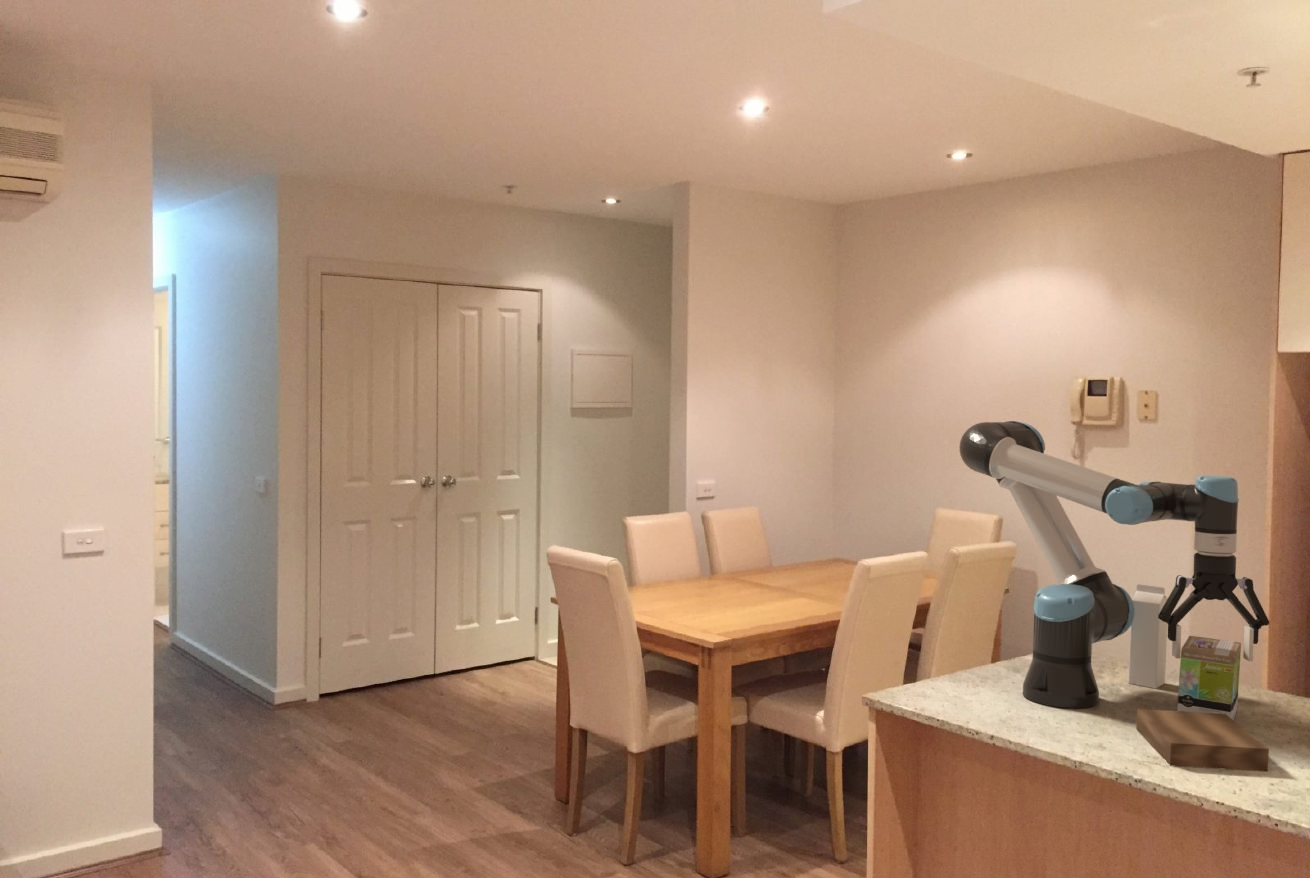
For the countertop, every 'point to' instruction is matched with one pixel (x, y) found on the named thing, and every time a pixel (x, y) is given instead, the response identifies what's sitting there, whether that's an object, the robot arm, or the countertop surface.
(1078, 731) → the countertop surface
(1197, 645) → the tea box
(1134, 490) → the robot arm
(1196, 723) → the walnut plinth
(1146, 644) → the milk
